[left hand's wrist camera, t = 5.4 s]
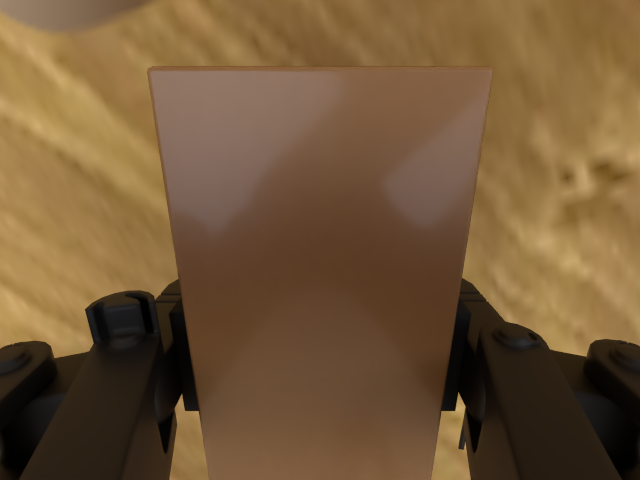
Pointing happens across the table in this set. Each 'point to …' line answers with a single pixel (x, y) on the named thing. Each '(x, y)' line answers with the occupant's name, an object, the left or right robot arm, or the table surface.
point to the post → (320, 257)
